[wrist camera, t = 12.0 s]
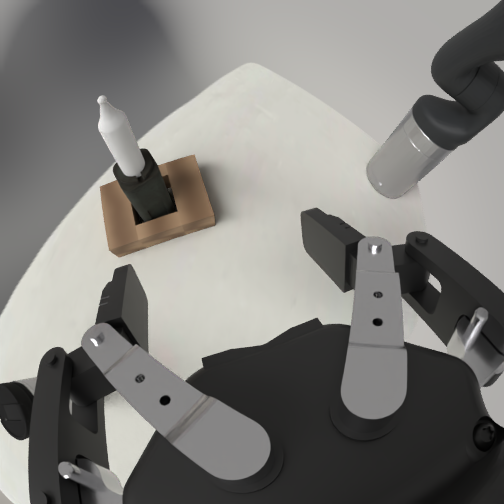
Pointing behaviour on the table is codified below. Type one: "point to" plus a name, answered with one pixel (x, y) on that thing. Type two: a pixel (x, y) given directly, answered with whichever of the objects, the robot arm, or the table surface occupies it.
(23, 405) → the travel mug
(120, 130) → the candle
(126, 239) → the socket block
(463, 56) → the robot arm
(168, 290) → the table surface
